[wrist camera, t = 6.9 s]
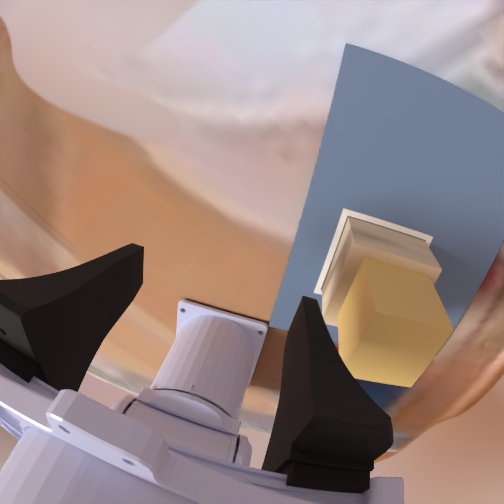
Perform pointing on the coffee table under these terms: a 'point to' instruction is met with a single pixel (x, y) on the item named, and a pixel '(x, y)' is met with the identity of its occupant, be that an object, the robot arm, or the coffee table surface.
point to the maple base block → (375, 247)
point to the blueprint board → (402, 179)
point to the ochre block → (391, 324)
